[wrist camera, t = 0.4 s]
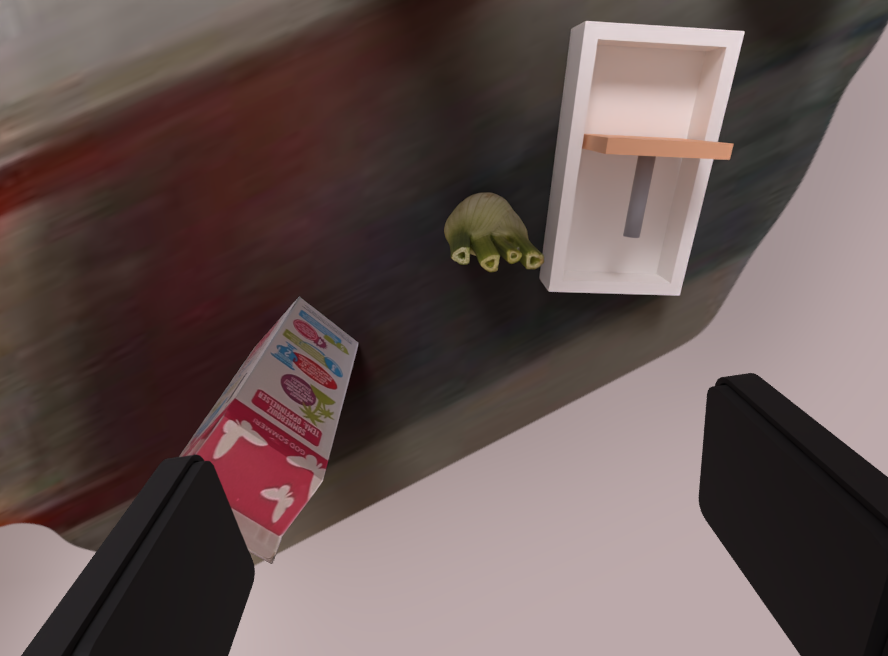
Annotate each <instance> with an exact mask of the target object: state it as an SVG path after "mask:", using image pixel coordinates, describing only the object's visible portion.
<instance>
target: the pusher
mask: <svg viewBox="0 0 888 656" xmlns="http://www.w3.org/2000/svg"><path fill="white" fill-rule="evenodd" d="M733 145H734V144H731V143H721V142H712V141H703V140H693V139H683V138H663V137H643V136H623V135H602V134H584V138H583V144H582V149H586V150H591V151H595V152H599V153H603V154H616V155H637V156H638V159H637V165H636V170H635V175H634V181H633V186H632V191H631V196H630V202H629V207H628V212H627V217H626V223H625V228H624V233H623V236H625V237H630V238H639V237H640V233H641V228H642V223H643V218H644V213H645V208H646V203H647V198H648V193H649V189H650V184H651V179H652V174H653V169H654V164H655V159H656V156H658V157H679V158H701V159H722V160H730V156H731V152H732V148H733Z"/></svg>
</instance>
